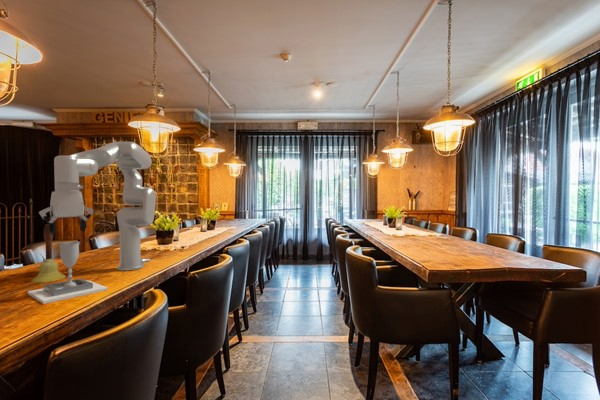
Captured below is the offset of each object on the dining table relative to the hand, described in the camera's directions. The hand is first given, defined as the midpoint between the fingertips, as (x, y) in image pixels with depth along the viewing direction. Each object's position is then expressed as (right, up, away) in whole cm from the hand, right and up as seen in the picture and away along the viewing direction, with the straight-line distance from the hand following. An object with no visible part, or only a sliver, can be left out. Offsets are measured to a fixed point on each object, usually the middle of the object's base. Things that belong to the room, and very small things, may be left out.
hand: (68, 232), depth 121 cm
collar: (0, -23, 0) cm, 23 cm away
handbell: (-24, -24, +21) cm, 40 cm away
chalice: (+1, -22, 0) cm, 22 cm away
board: (0, -23, 0) cm, 23 cm away
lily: (-36, -24, +35) cm, 55 cm away
